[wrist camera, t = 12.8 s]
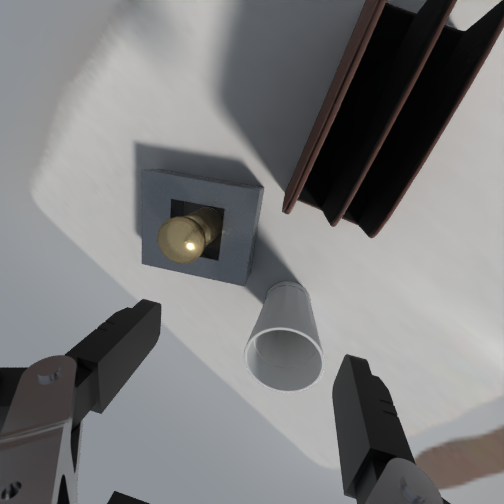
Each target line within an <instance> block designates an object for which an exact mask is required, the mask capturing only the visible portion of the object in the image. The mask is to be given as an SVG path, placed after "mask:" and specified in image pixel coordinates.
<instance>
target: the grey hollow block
mask: <svg viewBox="0 0 504 504" xmlns="http://www.w3.org/2000/svg"><path fill="white" fill-rule="evenodd" d="M263 192H264V187H258V186H252V185H247V184H241V183H235V182H230V181H224V180H218V179H212V178H207V177H201V176H195V175H190V174H184V173H178V172H173V171H167V170H161V169H151V170H142V264H145V265H149V266H154V267H158V268H163V269H167V270H172V271H177V272H181V273H186V274H190V275H195V276H199V277H204V278H208V279H213V280H218V281H222V282H227V283H231V284H236V285H240V286H245V284H246V282H247V280H248V277H249V275H250V271H251V265H252V259H253V253H254V247H255V241H256V235H257V229H258V222H259V216H260V210H261V204H262V198H263ZM185 201H186V202H191V203H197V204H202V205H207V206H213V207H218V208H223V209H225V211H224V219H223V228H222V237H221V245H220V249H216V248H211V247H205V249H204V252H203V253H202V254H201V255H200V256H199V257H198V258H197V259H196V260H195V261H193V262H191V263H188V264H179V263H175V262H173V261H171V260H170V259H168V258H167V257H166V256H165V255H164V254H163V253H162V251H161V249H160V247H159V244H158V238H157V237H158V231H159V229H160V227H161V225H162V224H163V223H164V222H165V221H167V220H169V219H171V218H174V217H177V216H184V202H185Z"/></svg>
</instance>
